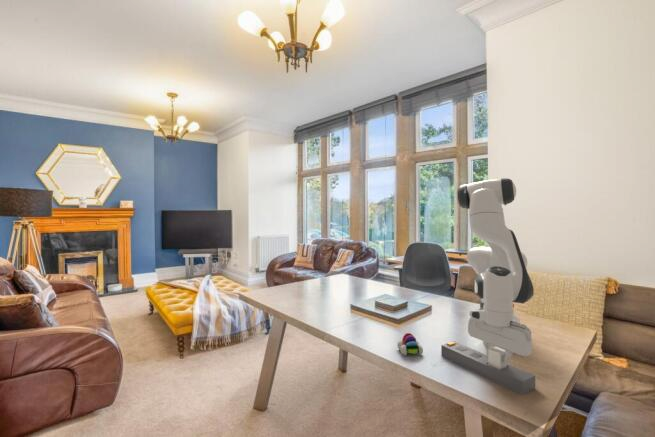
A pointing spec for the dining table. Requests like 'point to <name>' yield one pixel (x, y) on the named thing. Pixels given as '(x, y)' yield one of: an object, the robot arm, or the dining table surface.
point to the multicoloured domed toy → (409, 345)
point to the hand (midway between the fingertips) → (497, 358)
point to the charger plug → (496, 358)
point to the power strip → (489, 368)
